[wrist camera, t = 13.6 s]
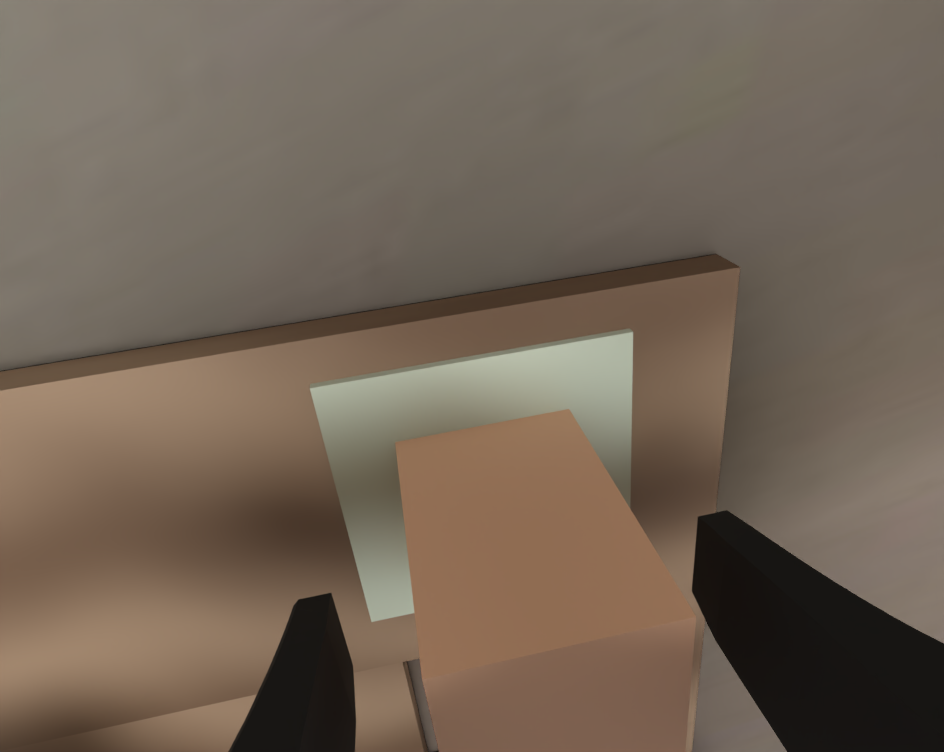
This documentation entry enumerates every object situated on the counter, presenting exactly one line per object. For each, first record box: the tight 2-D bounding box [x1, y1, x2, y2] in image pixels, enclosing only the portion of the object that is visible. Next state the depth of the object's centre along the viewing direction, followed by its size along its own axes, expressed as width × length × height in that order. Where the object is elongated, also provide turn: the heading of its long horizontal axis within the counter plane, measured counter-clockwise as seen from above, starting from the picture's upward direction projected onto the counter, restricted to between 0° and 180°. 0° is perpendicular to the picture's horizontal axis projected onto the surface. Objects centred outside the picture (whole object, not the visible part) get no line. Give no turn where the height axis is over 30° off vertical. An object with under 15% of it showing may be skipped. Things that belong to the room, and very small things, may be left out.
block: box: [395, 409, 696, 752], centre depth 12 cm, size 4×4×6 cm
